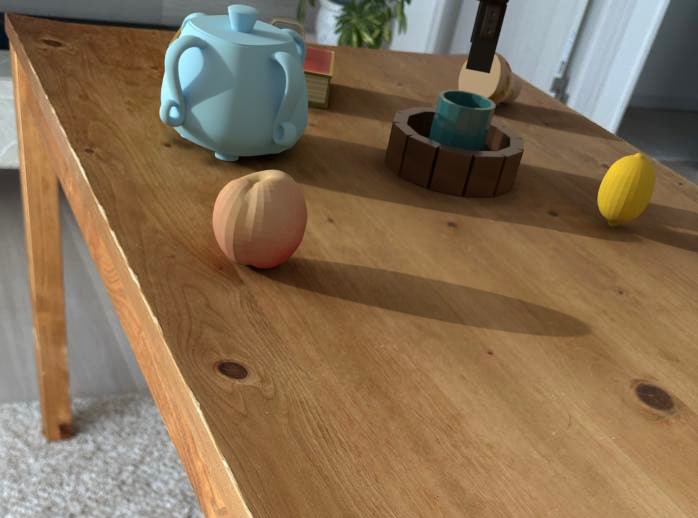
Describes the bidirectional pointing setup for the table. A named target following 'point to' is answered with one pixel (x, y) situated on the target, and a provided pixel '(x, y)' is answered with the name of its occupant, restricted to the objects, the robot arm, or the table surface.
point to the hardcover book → (311, 73)
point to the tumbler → (462, 120)
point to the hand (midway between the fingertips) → (479, 56)
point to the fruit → (260, 218)
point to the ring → (452, 157)
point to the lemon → (626, 189)
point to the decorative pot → (236, 84)
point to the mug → (492, 81)
